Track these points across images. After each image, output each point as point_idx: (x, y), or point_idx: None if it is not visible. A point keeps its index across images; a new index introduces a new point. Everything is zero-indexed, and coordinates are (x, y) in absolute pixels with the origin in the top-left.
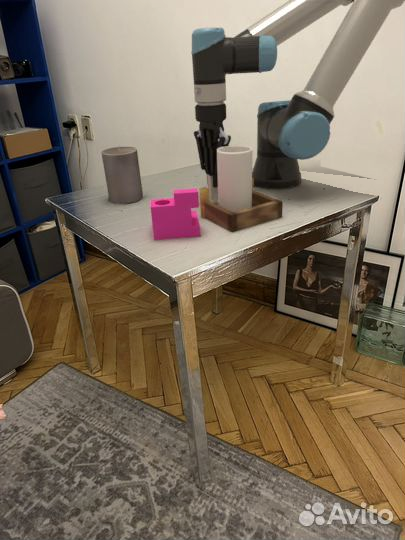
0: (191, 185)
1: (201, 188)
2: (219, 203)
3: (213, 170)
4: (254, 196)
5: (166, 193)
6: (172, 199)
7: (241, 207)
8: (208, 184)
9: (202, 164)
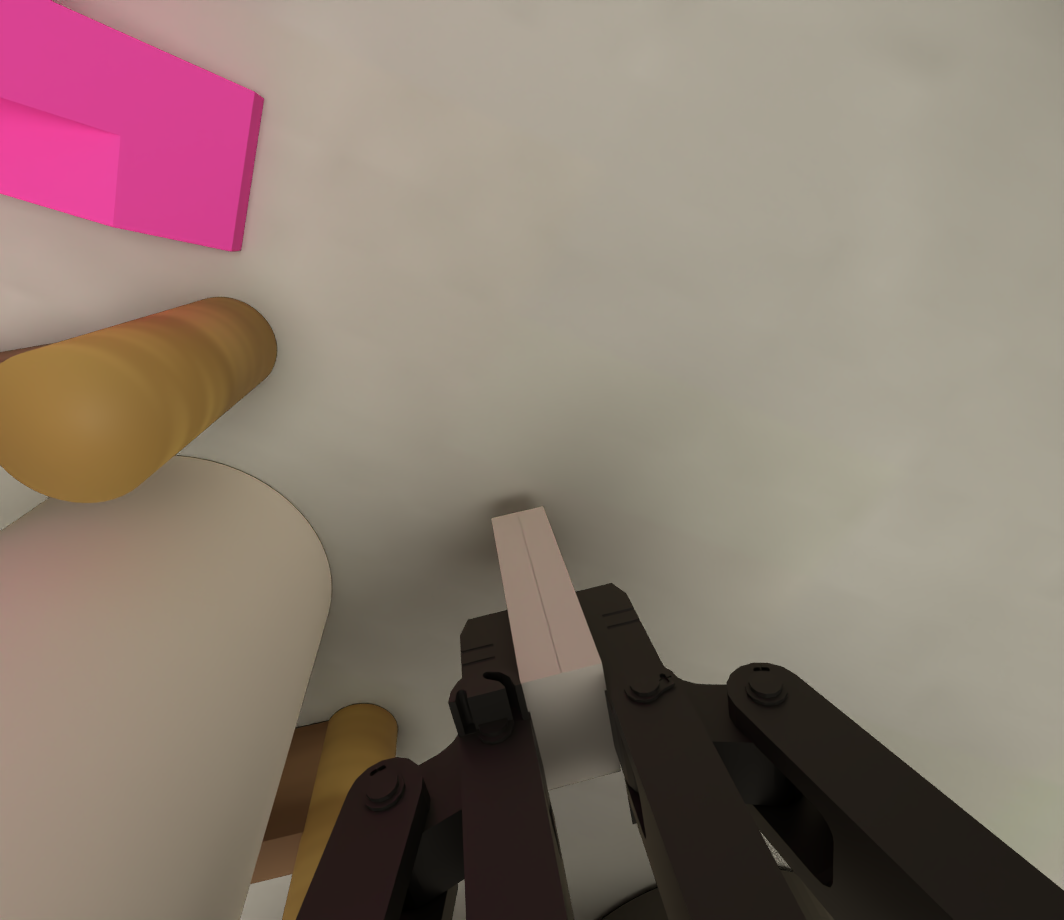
0: (1047, 522)
1: (114, 398)
2: (97, 510)
3: (461, 781)
4: None
5: (1042, 247)
6: None
7: None
8: (554, 587)
9: (783, 733)
